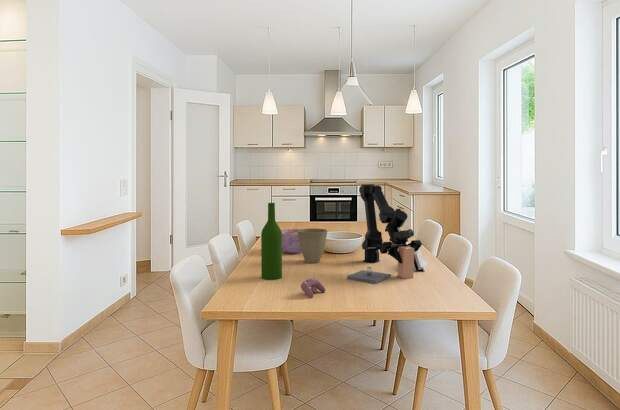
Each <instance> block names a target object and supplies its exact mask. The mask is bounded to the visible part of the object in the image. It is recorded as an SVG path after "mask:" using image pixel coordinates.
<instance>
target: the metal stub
mask: <svg viewBox="0 0 620 410" xmlns="http://www.w3.org/2000/svg"><path fill="white" fill-rule="evenodd" d="M366 271H367V275H368V276H371V275H372V266H371V267H370V266H368V267H366Z"/></svg>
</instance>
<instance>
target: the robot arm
mask: <svg viewBox="0 0 620 410" xmlns="http://www.w3.org/2000/svg"><path fill="white" fill-rule="evenodd" d="M358 191H359V193H360V194H359V195H360V198H361V199H362V201H363V202H364V209H365V219H366V228H367V230H366V233H365V234H364V240H363V242H362V243H361V249H362V250H364V259H363V260H362V262H367V263H375V264H376V263H378V262H380V261H381V260H380V254H381V255H383V254H385V255H386V254H387V255H388V256H391V257H392V258H393V259H395V260H396V261H397V263H398V262H399V263H401V264H402V259H401V257H400V255H399V252H398V247H404V246H409V247H412V248H414V252H416V251H418V250H419V249H420V248H421V247H422V245H423V244H422V241H421V240H420V239H411V238H412V237H413V236H414V235H415V233H414V231H413V228H409V229H406V230H401V228H402V227H403V226H404V224H405V222H406V221H407V220H408V218H409V217H408V214H407V213H406V212H405V211H404V210H402V209H401V208H395V209H394V208H393V207H391V206H390V205H389V203H388V200H387V199H386V197H385V195H384V193H383V190H382V186H381V185H375V184H374V183H364V184H361V185H360V186H359V188H358ZM375 204H376V206H377V208H378V210H379V212H378V217H379V221H380V222H381V223H382V224H386V226H385V228H384V232H385V233H386V232H387V233H388V236H389V241H383V236H382V235H383V234H382V231H379V229H378V226H377V216H376V215H377V214H376V207H375ZM409 239H411V241H410V242H409V243H408V241H409Z"/></svg>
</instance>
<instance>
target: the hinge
mask: <svg viewBox="0 0 620 410" xmlns="http://www.w3.org/2000/svg"><path fill="white" fill-rule="evenodd" d="M427 267H428V261H427V260H425V259H424V256H423V254H422V251H421V249H420V248H419V250H418V251H416V252H414V271H413V272H417V270H419V271H421V270H422V271H423V272H426V271H427V270H426V269H427Z"/></svg>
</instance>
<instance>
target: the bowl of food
mask: <svg viewBox="0 0 620 410" xmlns="http://www.w3.org/2000/svg"><path fill="white" fill-rule="evenodd" d="M300 229H301V228H288V229H287V228H286V229H285V228H284V229H281V232H282V251H284V252H286V253H287V254H291V255H292V254H294V255H296V254H301V253H302V251H301V247H300V243H299V237H298V230H300Z"/></svg>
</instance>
